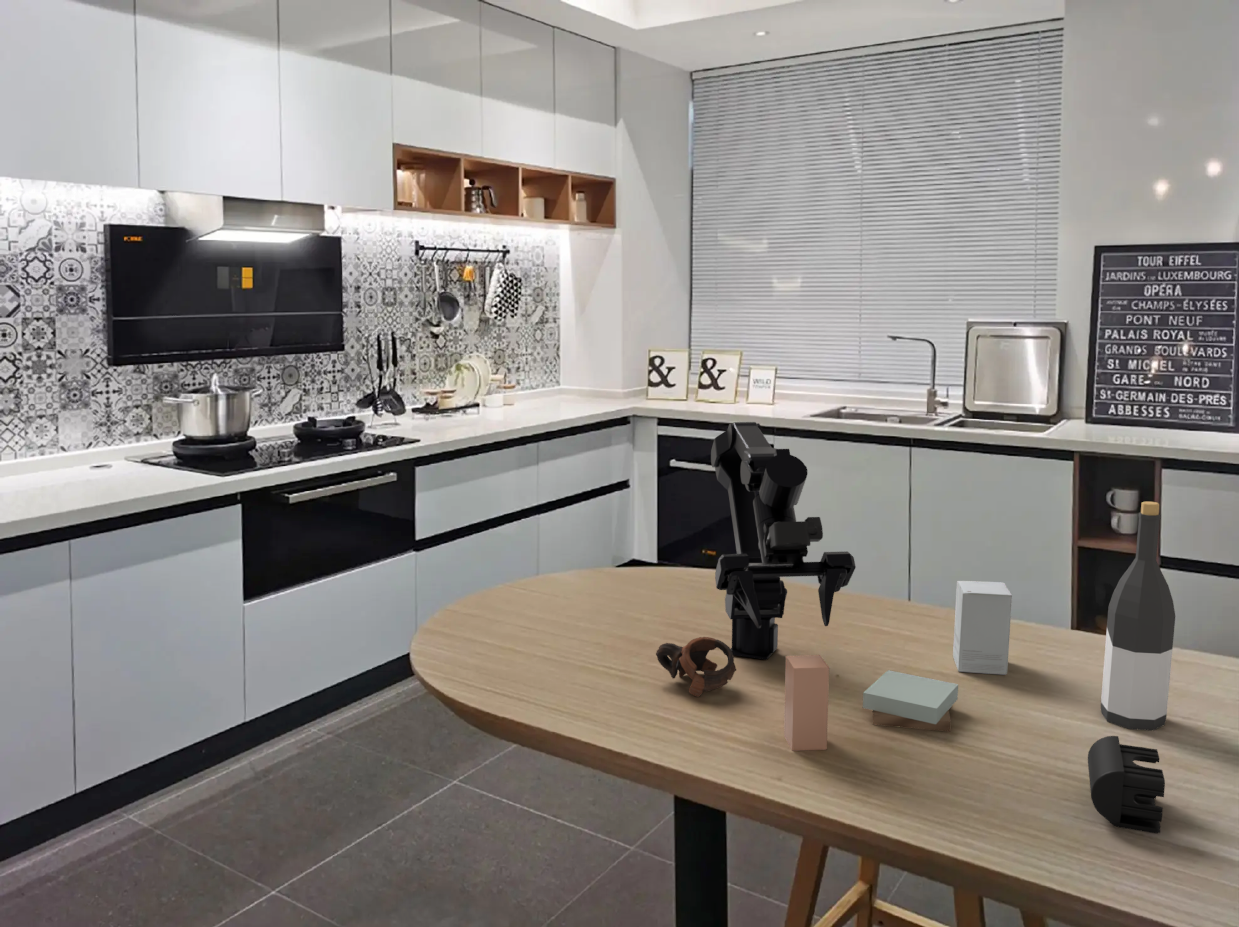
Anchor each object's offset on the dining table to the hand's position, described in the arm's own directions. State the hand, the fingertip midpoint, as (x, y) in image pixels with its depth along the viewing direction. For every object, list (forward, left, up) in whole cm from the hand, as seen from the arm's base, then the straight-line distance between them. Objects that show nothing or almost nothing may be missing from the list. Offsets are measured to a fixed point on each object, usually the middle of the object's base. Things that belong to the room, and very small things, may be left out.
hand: (793, 625), depth 142 cm
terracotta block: (+4, -7, -13) cm, 15 cm away
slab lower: (+15, +8, -14) cm, 22 cm away
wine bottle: (+43, +18, -13) cm, 48 cm away
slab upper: (+15, +8, -12) cm, 20 cm away
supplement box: (+22, +31, -13) cm, 40 cm away
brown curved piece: (-16, +6, -13) cm, 22 cm away
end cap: (+41, -10, -13) cm, 44 cm away
